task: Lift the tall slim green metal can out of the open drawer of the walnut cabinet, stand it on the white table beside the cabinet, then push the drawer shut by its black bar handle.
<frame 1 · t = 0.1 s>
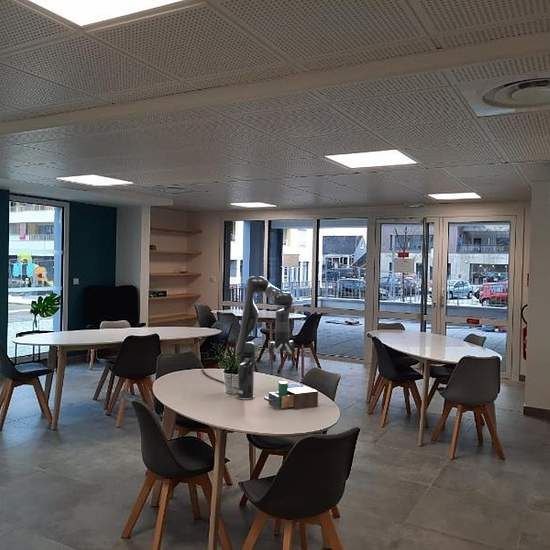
hand: (281, 361, 279), 29 cm above the table, tool pointing down, fingers open, 8 cm apart
hippopotamus toy: (294, 397, 323), on the table
can: (282, 403, 299), point 2 cm above the table, touching drawer
cabinet: (300, 405, 304), on the table
drawer: (280, 399, 298), point 4 cm above the table, slide at 9.0 cm, touching can
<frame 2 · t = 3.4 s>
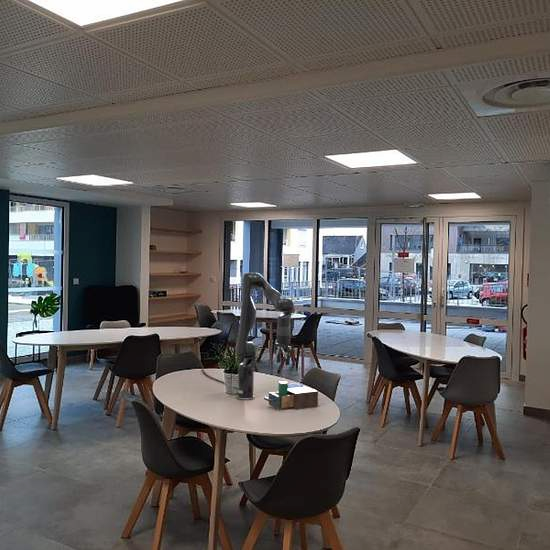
hand: (282, 363, 293), 25 cm above the table, tool pointing down, fingers open, 8 cm apart
nothing on the table moved.
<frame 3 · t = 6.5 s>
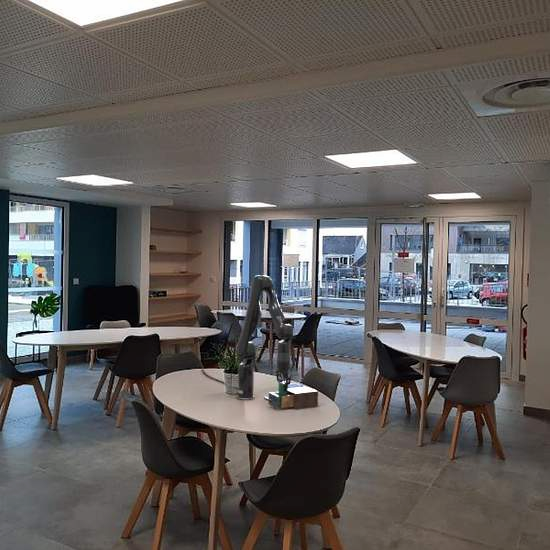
hand: (283, 390, 299), 10 cm above the table, tool pointing down, fingers closed on can, 5 cm apart
can: (282, 403, 299), point 2 cm above the table, touching drawer, gripper
everything else where it was.
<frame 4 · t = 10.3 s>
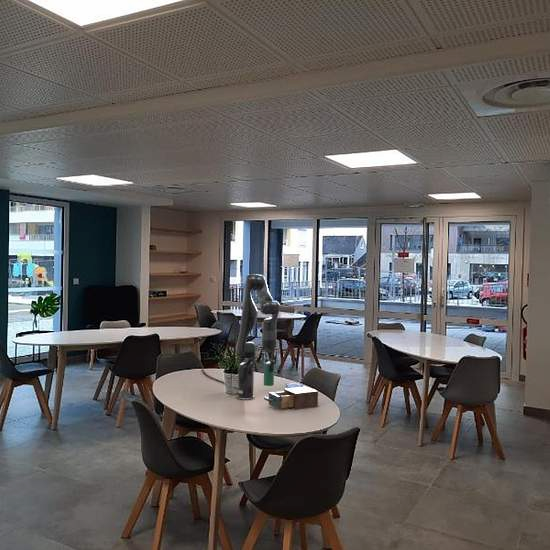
hand: (268, 370, 283), 24 cm above the table, tool pointing down, fingers closed on can, 5 cm apart
can: (268, 384, 283), point 16 cm above the table, touching gripper
drawer: (280, 399, 298), point 4 cm above the table, slide at 9.0 cm
everything else where it was.
when the fingers open (8 cm above the table, at t = 14.4 s): can stays where it is, on the table.
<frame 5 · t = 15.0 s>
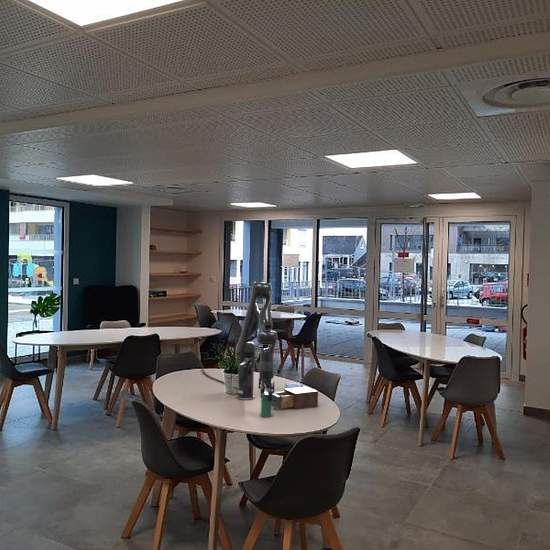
hand: (266, 399, 281), 9 cm above the table, tool pointing down, fingers open, 8 cm apart
can: (266, 416, 281), on the table
everything else where it was.
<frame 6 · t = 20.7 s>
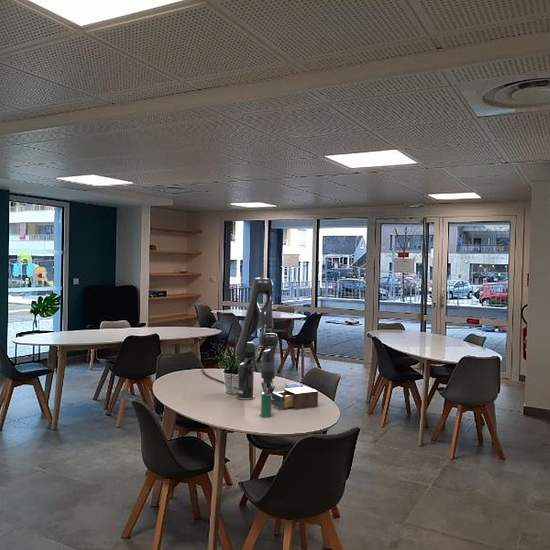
hand: (267, 400, 295), 5 cm above the table, tool pointing down, fingers closed
drawer: (283, 399, 299), point 4 cm above the table, slide at 7.2 cm, touching gripper
everything else where it was.
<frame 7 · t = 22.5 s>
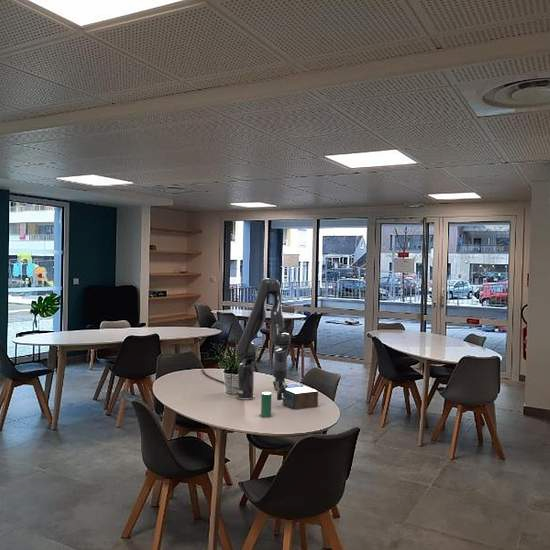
hand: (279, 399, 298), 5 cm above the table, tool pointing down, fingers closed
drawer: (294, 398, 302), point 4 cm above the table, slide at 0.0 cm, touching cabinet, gripper
everything else where it was.
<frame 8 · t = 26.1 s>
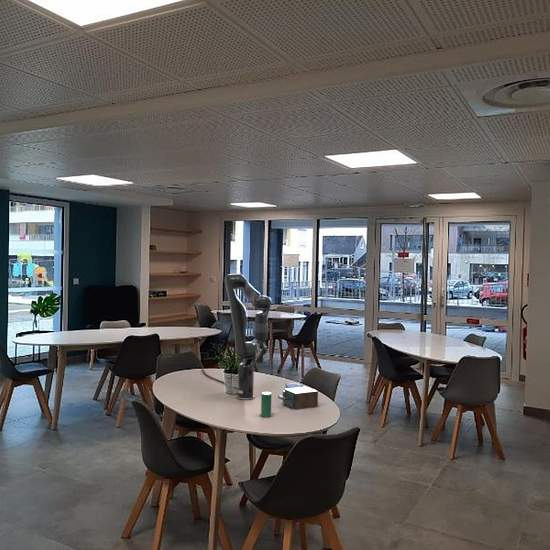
hand: (260, 361, 301), 25 cm above the table, tool pointing down, fingers closed
drawer: (294, 398, 302), point 4 cm above the table, slide at 0.0 cm
everything else where it was.
at the end: can inside the target area (0.1 cm from its centre), on the table; can tilted 0°; drawer slide at 0.0 cm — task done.
